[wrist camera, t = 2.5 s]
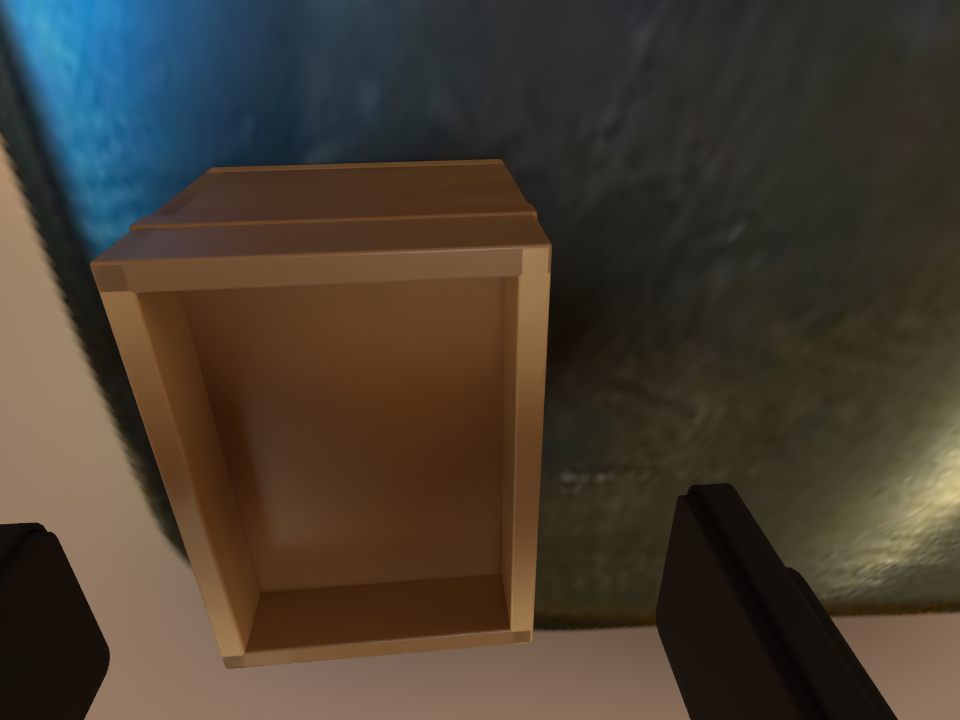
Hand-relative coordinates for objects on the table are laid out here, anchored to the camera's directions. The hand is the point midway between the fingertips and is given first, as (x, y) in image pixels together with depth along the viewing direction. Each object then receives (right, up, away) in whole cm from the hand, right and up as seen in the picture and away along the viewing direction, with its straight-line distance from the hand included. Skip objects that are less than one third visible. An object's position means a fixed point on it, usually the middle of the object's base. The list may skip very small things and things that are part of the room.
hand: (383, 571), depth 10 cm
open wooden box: (-1, +4, +7) cm, 8 cm away
